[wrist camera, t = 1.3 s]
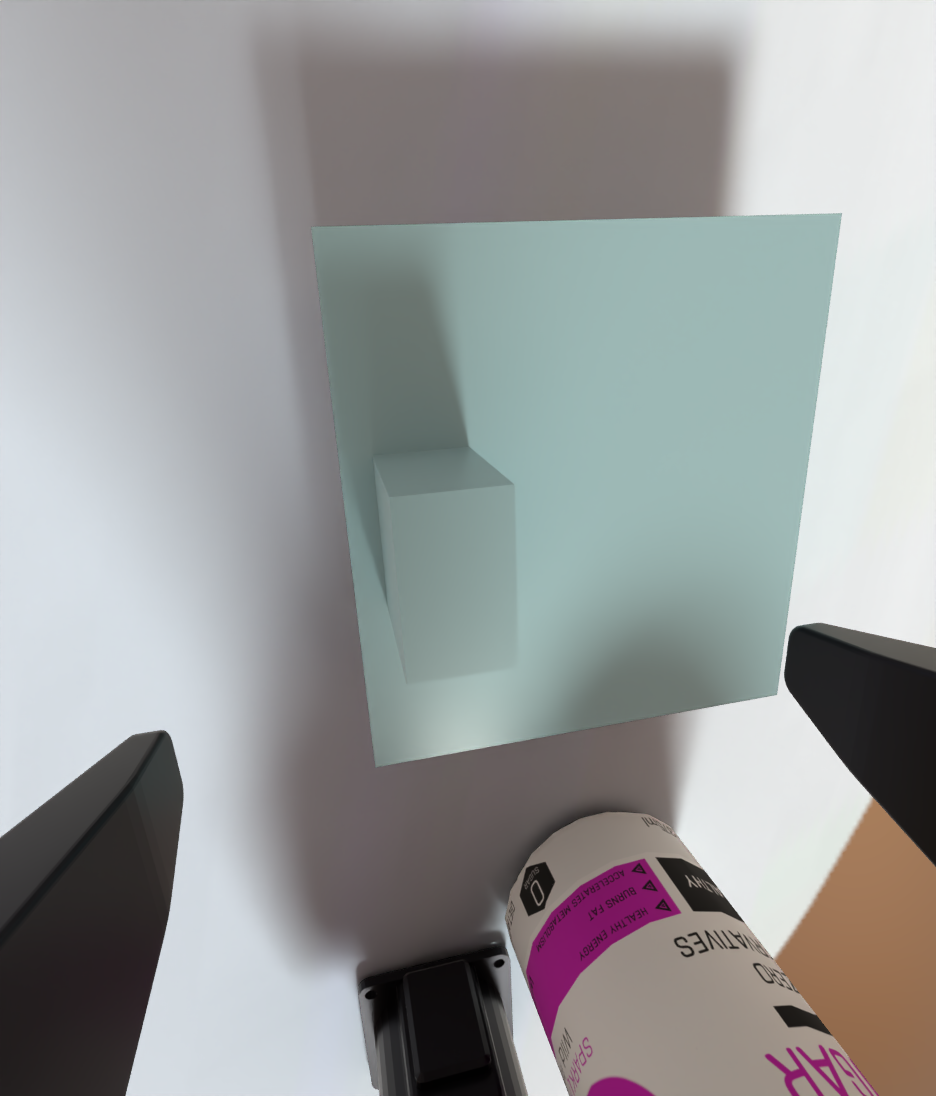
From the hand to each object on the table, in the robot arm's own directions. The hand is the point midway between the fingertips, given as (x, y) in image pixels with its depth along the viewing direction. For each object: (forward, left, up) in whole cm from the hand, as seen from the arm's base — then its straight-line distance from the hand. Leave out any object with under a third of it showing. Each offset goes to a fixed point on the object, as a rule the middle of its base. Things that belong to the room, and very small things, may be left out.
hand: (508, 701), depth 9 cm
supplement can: (-18, -7, -12) cm, 23 cm away
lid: (0, -5, -9) cm, 10 cm away
